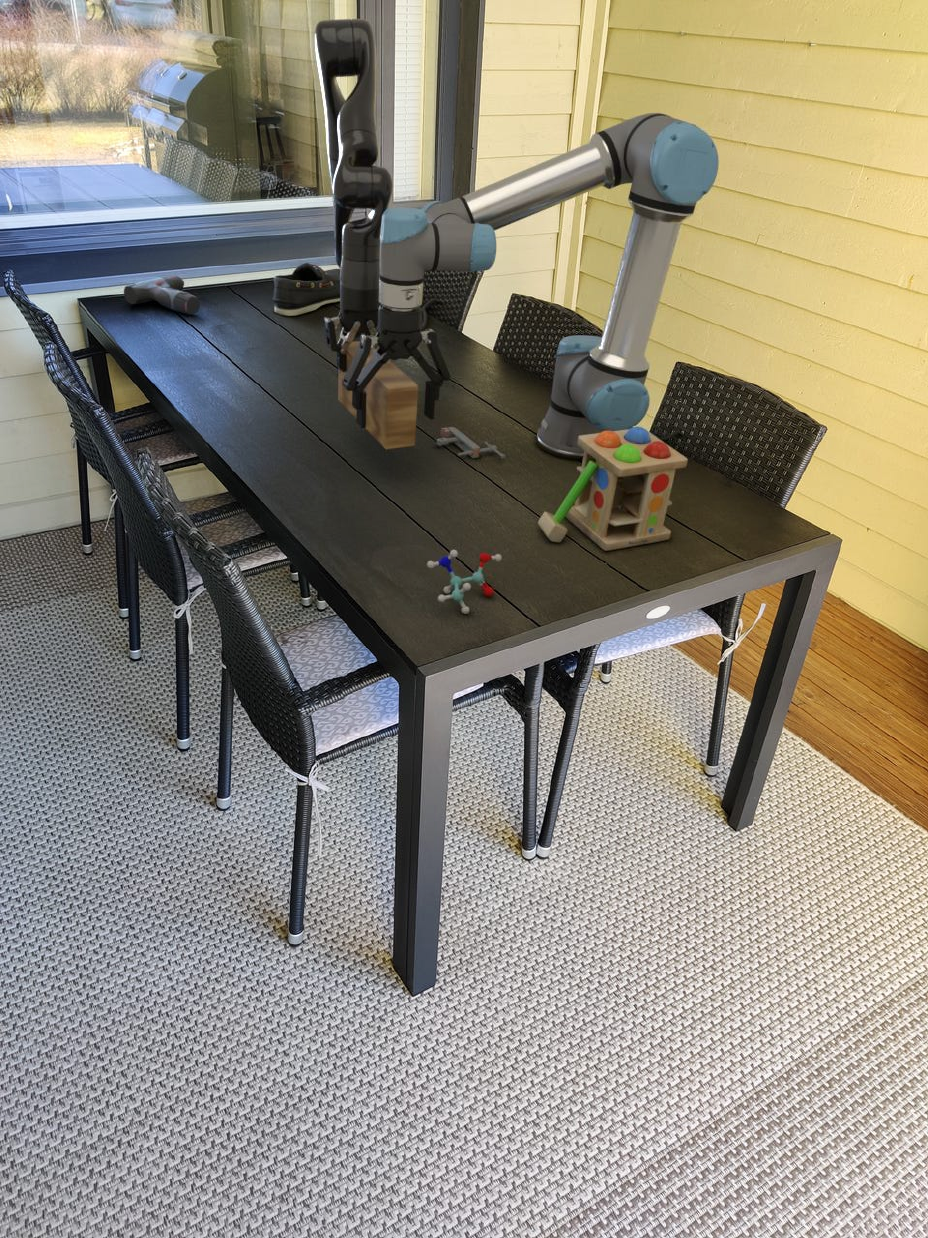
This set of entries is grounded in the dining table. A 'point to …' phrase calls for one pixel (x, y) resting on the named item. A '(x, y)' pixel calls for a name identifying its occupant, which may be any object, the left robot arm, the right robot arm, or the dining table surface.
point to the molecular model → (457, 581)
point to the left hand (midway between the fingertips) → (358, 368)
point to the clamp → (464, 443)
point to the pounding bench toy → (619, 490)
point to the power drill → (163, 294)
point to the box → (385, 403)
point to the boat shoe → (305, 289)
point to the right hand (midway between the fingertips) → (395, 421)
